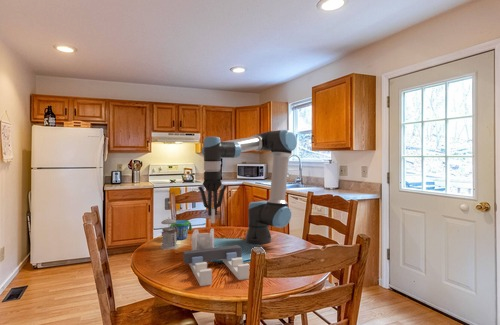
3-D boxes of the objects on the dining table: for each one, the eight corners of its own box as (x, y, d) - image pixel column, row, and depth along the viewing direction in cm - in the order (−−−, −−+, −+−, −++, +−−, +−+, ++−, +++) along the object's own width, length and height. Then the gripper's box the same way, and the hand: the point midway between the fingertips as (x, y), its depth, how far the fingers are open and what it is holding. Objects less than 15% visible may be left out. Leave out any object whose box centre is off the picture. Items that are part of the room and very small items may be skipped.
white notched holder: (230, 258, 145) (230, 247, 145) (249, 278, 120) (249, 264, 120) (188, 263, 137) (188, 251, 137) (200, 286, 113) (200, 271, 113)
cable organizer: (212, 258, 144) (212, 234, 144) (190, 259, 144) (190, 235, 143) (214, 249, 159) (214, 227, 159) (194, 250, 158) (193, 228, 158)
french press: (171, 243, 171) (170, 199, 171) (184, 247, 164) (183, 201, 163) (156, 247, 163) (155, 201, 163) (168, 251, 156) (168, 203, 156)
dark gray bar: (238, 254, 143) (238, 245, 143) (241, 256, 139) (241, 247, 139) (183, 261, 134) (183, 251, 133) (184, 264, 130) (184, 253, 130)
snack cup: (186, 234, 191) (186, 218, 190) (196, 237, 183) (196, 221, 183) (164, 239, 180) (164, 222, 180) (173, 242, 172) (173, 225, 172)
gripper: (223, 170, 142) (224, 219, 142) (196, 170, 137) (196, 222, 137) (228, 170, 135) (228, 223, 135) (199, 171, 130) (200, 225, 130)
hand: (212, 222), depth 136 cm, fingers closed
